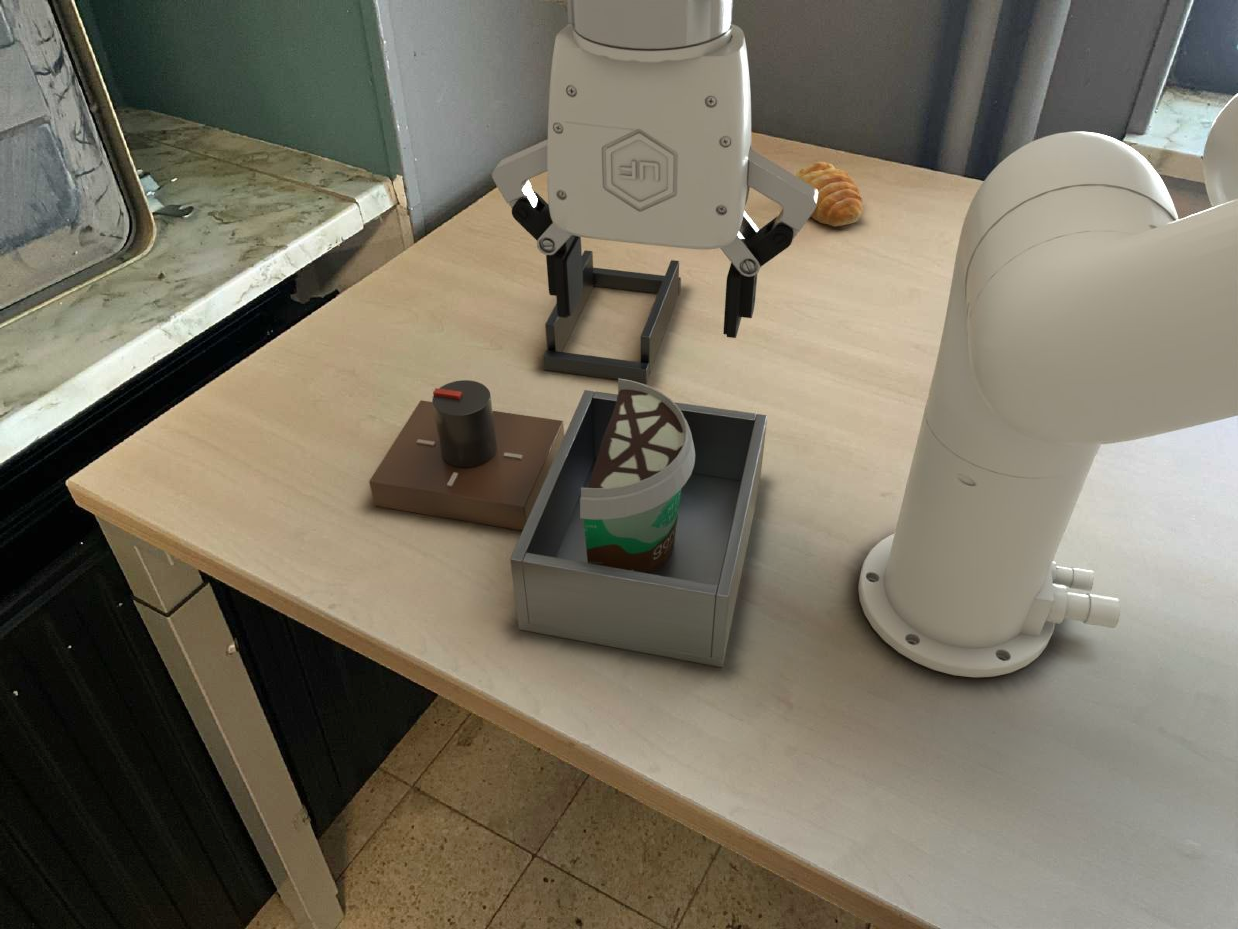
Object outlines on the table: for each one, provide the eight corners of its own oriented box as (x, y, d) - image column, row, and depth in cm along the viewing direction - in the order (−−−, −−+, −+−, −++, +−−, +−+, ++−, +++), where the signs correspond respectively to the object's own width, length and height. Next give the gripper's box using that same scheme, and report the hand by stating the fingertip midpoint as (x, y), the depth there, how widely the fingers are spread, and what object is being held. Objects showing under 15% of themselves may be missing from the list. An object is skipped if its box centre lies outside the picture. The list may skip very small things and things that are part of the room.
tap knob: (504, 436, 77) (497, 380, 73) (486, 471, 74) (478, 415, 70) (453, 428, 78) (444, 373, 74) (433, 463, 74) (422, 407, 71)
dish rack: (680, 290, 97) (681, 254, 94) (646, 383, 86) (646, 345, 83) (589, 279, 99) (587, 243, 96) (543, 370, 87) (540, 331, 85)
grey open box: (759, 484, 76) (767, 414, 72) (722, 668, 63) (729, 597, 59) (587, 458, 79) (584, 389, 74) (518, 629, 66) (509, 559, 61)
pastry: (877, 224, 106) (883, 191, 104) (820, 235, 105) (824, 202, 102) (836, 187, 113) (840, 154, 110) (781, 196, 111) (784, 164, 109)
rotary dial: (565, 444, 80) (563, 418, 78) (527, 531, 73) (524, 505, 71) (424, 423, 82) (420, 398, 80) (374, 506, 75) (368, 479, 73)
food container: (676, 617, 65) (680, 507, 59) (584, 603, 66) (578, 494, 60) (702, 491, 74) (708, 383, 68) (621, 480, 75) (619, 373, 69)
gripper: (448, 17, 45) (488, 333, 57) (833, 41, 42) (794, 371, 53) (501, -30, 51) (528, 266, 62) (846, -12, 47) (807, 297, 59)
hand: (651, 314), depth 58 cm, fingers open, 9 cm apart
